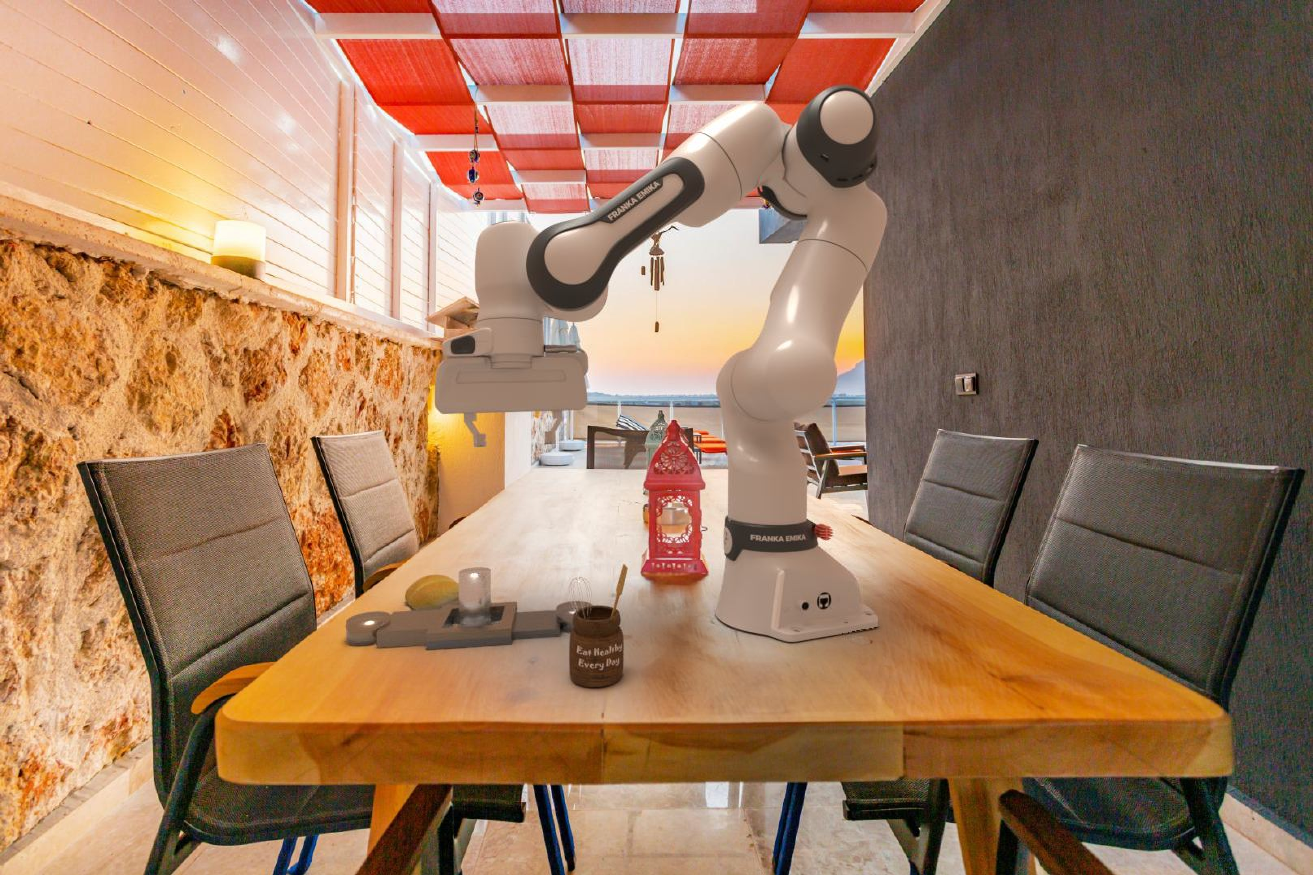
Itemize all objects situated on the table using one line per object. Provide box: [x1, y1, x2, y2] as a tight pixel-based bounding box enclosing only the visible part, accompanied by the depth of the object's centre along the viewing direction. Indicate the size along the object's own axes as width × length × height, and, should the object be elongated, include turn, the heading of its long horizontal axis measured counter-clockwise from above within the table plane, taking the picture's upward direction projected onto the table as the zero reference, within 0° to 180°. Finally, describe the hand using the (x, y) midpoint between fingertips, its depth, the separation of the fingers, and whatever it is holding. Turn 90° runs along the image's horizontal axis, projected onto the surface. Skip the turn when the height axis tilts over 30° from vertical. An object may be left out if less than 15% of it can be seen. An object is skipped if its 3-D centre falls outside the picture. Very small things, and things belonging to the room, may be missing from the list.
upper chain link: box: [345, 601, 518, 649], centre depth 70 cm, size 20×10×2 cm, turn 100°
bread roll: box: [404, 574, 459, 611], centre depth 83 cm, size 8×9×4 cm
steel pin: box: [458, 566, 492, 627], centre depth 71 cm, size 4×4×8 cm
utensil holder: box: [568, 563, 628, 688], centre depth 59 cm, size 6×6×12 cm
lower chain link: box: [425, 600, 594, 651], centre depth 72 cm, size 20×10×2 cm, turn 100°
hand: (515, 445), depth 75 cm, fingers open, 8 cm apart
